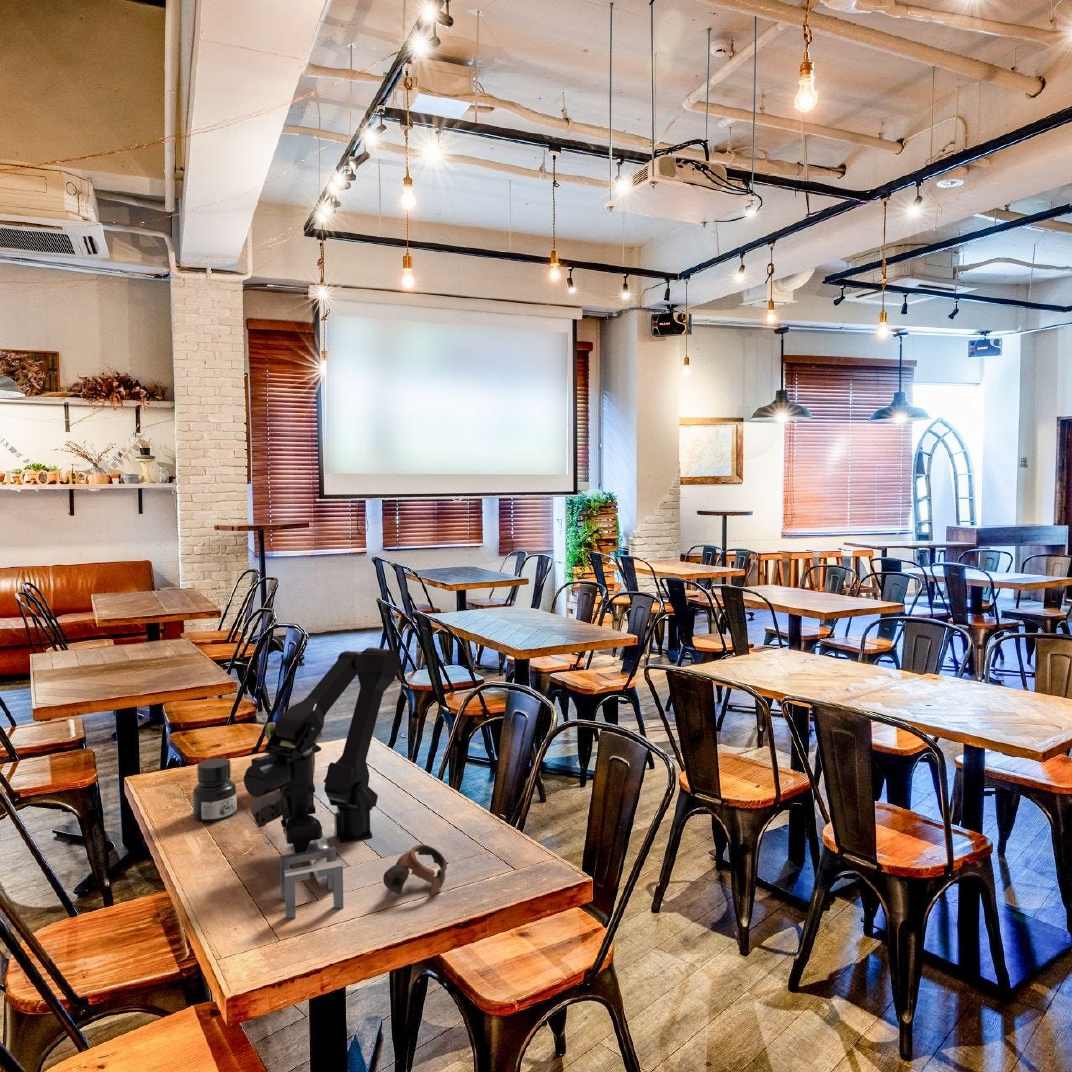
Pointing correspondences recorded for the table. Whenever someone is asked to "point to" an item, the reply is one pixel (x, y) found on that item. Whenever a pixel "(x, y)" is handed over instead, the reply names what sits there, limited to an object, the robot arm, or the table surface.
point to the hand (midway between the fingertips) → (299, 859)
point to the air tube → (315, 846)
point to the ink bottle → (214, 791)
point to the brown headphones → (416, 870)
